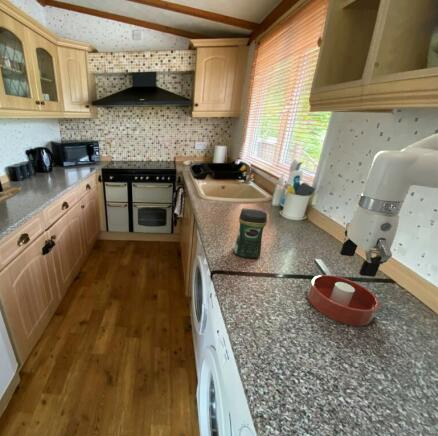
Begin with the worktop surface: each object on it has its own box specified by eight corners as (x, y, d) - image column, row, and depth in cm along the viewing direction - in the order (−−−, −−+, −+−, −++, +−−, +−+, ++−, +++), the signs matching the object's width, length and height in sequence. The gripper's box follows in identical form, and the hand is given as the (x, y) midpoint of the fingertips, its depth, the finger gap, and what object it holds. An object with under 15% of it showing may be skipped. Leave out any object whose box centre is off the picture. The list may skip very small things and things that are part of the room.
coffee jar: (258, 250, 99) (267, 207, 91) (260, 260, 92) (270, 215, 84) (233, 246, 101) (240, 205, 94) (233, 256, 94) (241, 212, 87)
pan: (354, 292, 75) (359, 278, 73) (386, 330, 62) (393, 315, 60) (300, 284, 79) (304, 271, 77) (319, 319, 65) (324, 305, 63)
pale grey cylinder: (343, 299, 72) (349, 283, 69) (350, 310, 68) (358, 293, 65) (326, 297, 72) (332, 280, 70) (333, 307, 68) (339, 290, 66)
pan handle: (319, 262, 85) (320, 259, 84) (333, 279, 76) (334, 276, 75) (313, 261, 85) (314, 258, 85) (325, 278, 76) (327, 275, 76)
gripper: (427, 219, 49) (394, 287, 56) (375, 194, 65) (354, 250, 72) (384, 216, 51) (357, 282, 58) (343, 193, 67) (326, 247, 73)
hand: (355, 264), depth 65 cm, fingers open, 9 cm apart
